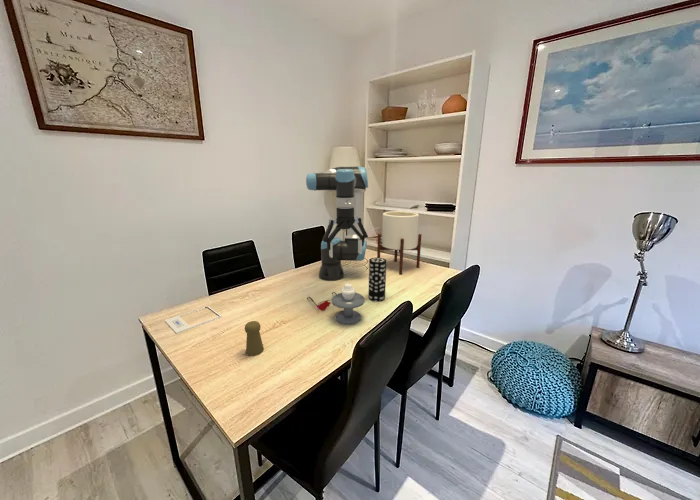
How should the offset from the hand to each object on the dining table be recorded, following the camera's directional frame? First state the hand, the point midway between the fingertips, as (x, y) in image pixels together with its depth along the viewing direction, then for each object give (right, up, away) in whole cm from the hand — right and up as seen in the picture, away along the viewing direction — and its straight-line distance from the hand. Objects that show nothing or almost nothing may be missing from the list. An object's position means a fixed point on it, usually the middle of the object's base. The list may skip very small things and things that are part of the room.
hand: (345, 255), depth 126 cm
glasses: (-10, -24, +12) cm, 28 cm away
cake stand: (+1, -27, -3) cm, 27 cm away
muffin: (+1, -19, -5) cm, 20 cm away
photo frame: (-65, -28, -4) cm, 71 cm away
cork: (-32, -34, -25) cm, 53 cm away
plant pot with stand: (+34, -10, +62) cm, 71 cm away
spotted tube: (+15, -22, +16) cm, 32 cm away
